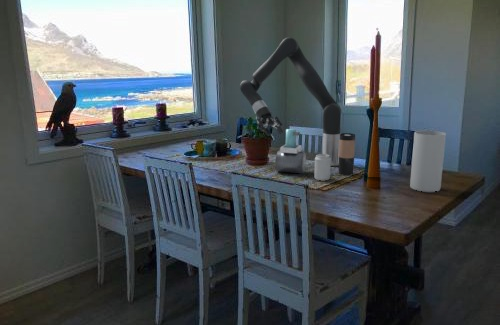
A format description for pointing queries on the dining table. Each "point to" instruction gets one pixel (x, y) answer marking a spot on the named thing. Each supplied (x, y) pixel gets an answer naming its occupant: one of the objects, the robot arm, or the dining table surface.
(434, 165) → the cylinder vase
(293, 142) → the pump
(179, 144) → the dining table surface
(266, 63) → the robot arm
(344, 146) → the travel mug
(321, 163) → the can
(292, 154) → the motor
